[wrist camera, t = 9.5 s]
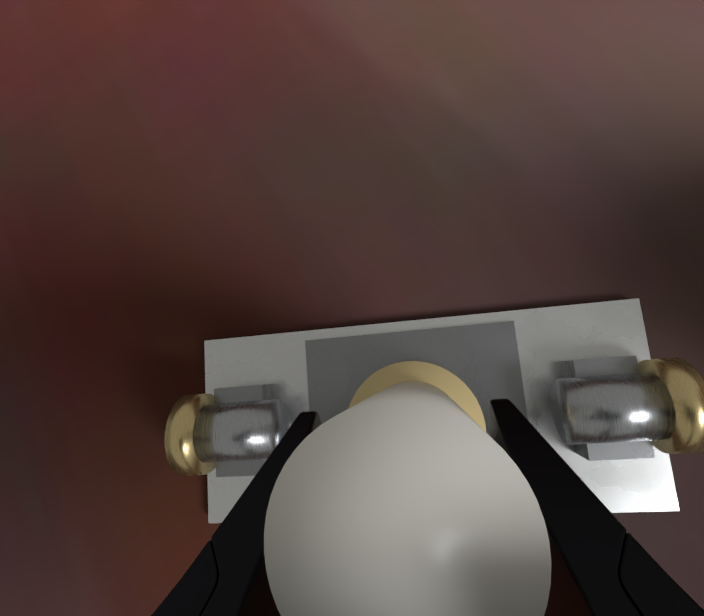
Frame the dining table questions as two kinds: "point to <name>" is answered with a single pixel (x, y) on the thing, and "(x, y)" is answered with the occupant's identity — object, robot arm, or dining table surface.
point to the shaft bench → (479, 376)
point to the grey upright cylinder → (406, 510)
